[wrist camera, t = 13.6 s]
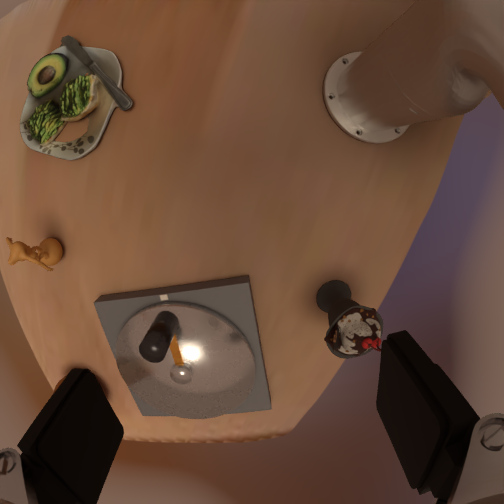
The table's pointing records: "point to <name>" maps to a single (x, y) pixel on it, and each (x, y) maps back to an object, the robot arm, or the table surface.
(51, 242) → the figurine
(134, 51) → the table surface
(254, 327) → the instrument base
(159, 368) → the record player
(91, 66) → the avocado toast plate
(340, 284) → the sundae
